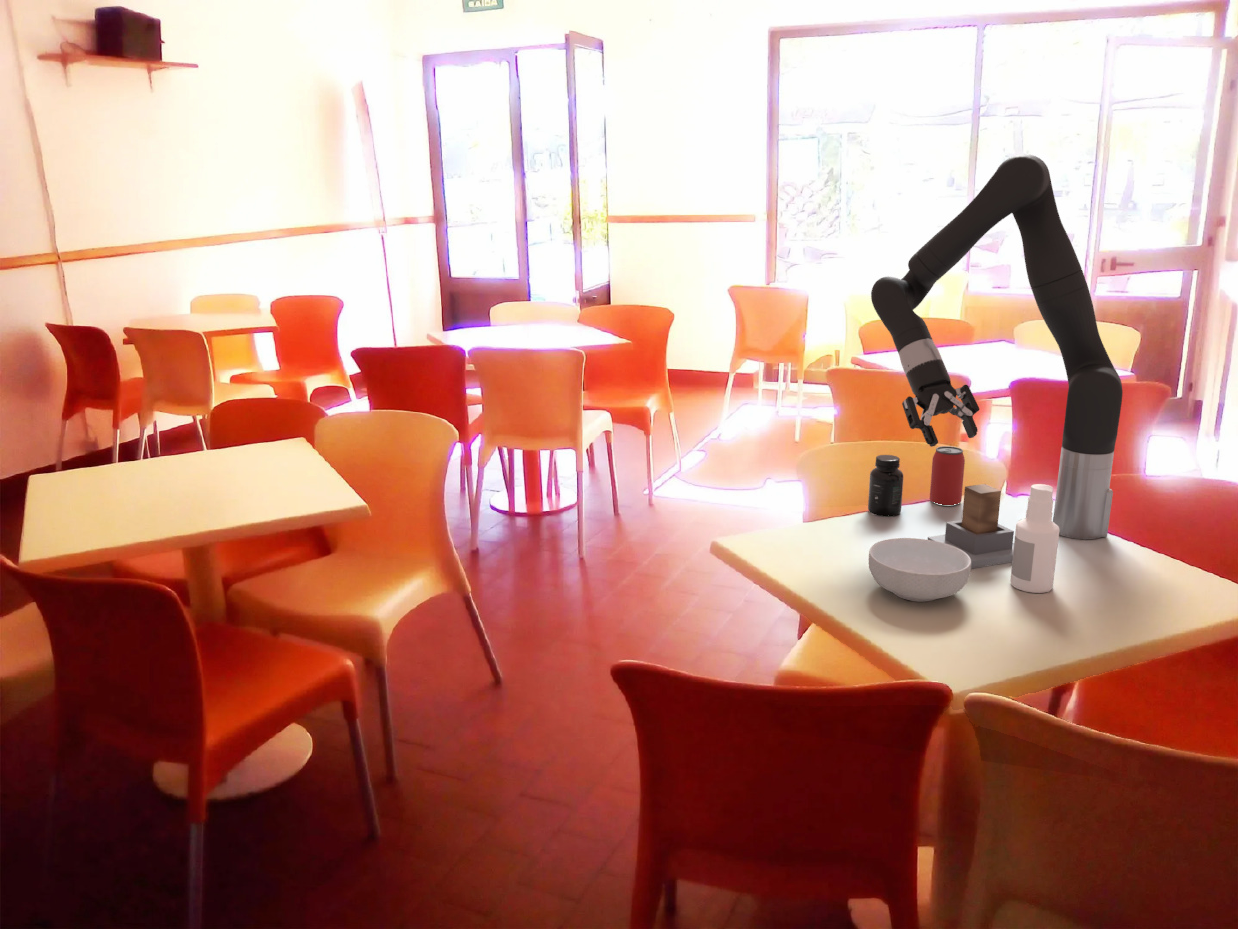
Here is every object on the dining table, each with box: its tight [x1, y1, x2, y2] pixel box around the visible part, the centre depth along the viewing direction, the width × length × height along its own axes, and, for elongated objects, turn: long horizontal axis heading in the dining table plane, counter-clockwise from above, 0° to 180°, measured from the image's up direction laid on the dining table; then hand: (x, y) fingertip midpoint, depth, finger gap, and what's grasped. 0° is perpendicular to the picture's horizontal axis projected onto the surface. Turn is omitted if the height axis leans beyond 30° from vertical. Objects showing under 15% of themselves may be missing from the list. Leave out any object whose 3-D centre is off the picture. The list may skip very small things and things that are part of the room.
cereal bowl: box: [868, 537, 972, 603], centre depth 164 cm, size 17×17×7 cm
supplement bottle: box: [867, 454, 904, 517], centre depth 203 cm, size 7×7×12 cm
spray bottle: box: [1009, 483, 1060, 594], centre depth 164 cm, size 7×7×18 cm
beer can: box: [929, 445, 966, 505], centre depth 208 cm, size 7×7×12 cm
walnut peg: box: [961, 483, 1002, 535], centre depth 180 cm, size 4×4×11 cm
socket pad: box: [927, 519, 1015, 570], centre depth 181 cm, size 13×13×5 cm
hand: (954, 440), depth 186 cm, fingers open, 8 cm apart
